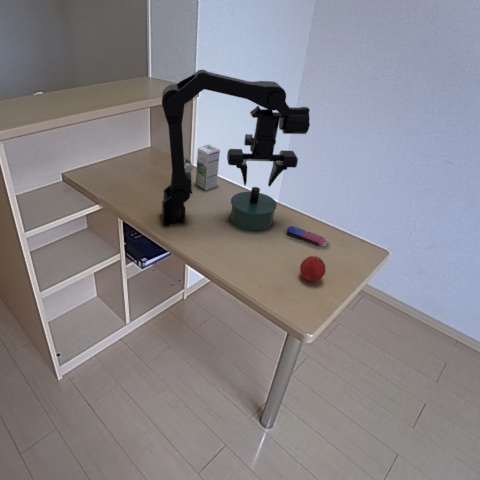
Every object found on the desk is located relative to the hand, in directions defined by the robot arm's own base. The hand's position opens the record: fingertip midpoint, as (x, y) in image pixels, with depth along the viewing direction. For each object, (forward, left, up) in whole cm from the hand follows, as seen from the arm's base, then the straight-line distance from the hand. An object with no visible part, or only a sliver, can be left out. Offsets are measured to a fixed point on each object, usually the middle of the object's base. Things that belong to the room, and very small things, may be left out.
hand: (256, 185), depth 108 cm
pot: (0, 0, -12) cm, 12 cm away
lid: (0, 0, -6) cm, 6 cm away
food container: (-16, +25, -13) cm, 32 cm away
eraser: (+12, -12, -13) cm, 21 cm away
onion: (+4, -29, -13) cm, 32 cm away
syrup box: (-7, +26, -13) cm, 30 cm away
